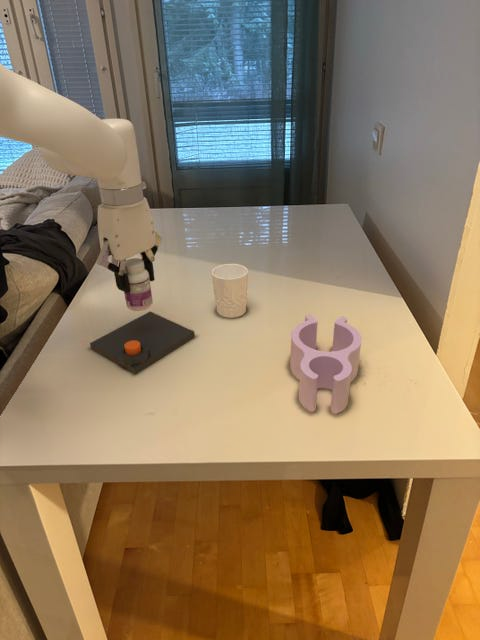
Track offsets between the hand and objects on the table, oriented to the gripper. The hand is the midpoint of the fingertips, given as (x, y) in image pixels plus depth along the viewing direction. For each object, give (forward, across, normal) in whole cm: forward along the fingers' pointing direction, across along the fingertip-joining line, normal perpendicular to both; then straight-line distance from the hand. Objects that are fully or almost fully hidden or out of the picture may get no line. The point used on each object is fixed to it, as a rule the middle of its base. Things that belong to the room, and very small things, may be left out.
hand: (136, 284), depth 92 cm
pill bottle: (+5, 0, 0) cm, 5 cm away
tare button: (+10, +7, +6) cm, 14 cm away
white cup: (+12, -19, +8) cm, 24 cm away
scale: (+12, +2, +2) cm, 12 cm away
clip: (+12, -11, +37) cm, 41 cm away
